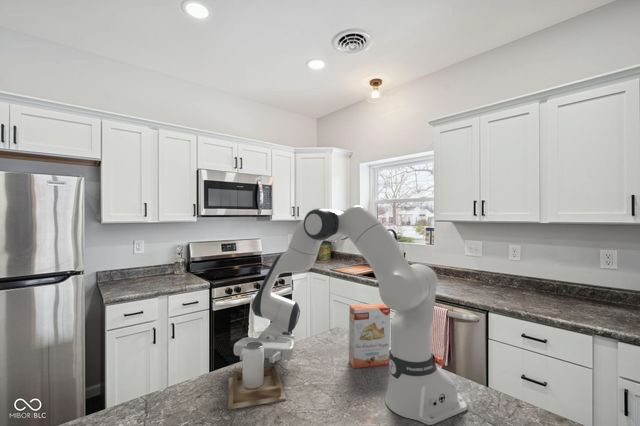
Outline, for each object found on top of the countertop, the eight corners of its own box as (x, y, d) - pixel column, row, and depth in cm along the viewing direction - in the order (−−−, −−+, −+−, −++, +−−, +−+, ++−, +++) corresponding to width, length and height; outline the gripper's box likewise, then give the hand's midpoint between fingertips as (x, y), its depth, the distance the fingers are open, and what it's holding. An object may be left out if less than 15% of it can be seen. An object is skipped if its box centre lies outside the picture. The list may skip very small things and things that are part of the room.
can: (260, 390, 90) (260, 350, 90) (239, 389, 91) (239, 349, 91) (265, 379, 96) (266, 341, 97) (246, 377, 97) (247, 340, 97)
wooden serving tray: (278, 372, 102) (278, 363, 102) (285, 400, 86) (285, 389, 86) (229, 379, 97) (229, 369, 97) (228, 409, 82) (228, 398, 82)
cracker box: (353, 369, 104) (354, 309, 105) (348, 361, 110) (348, 304, 111) (390, 365, 107) (390, 307, 108) (383, 357, 113) (383, 302, 114)
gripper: (243, 330, 108) (225, 346, 94) (298, 334, 105) (288, 351, 91) (242, 348, 108) (224, 366, 94) (298, 352, 104) (287, 372, 91)
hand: (256, 359), depth 92 cm, fingers open, 8 cm apart
